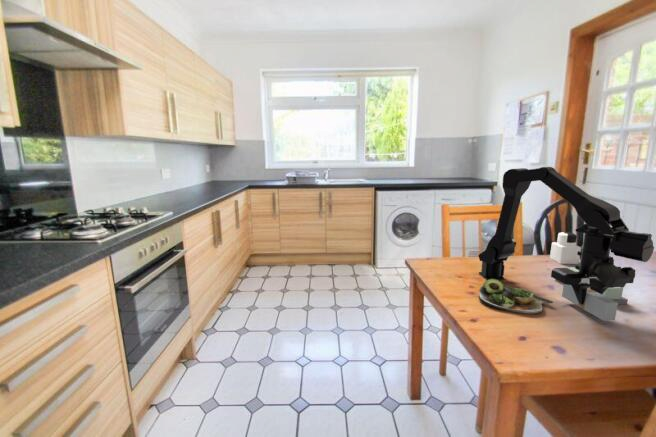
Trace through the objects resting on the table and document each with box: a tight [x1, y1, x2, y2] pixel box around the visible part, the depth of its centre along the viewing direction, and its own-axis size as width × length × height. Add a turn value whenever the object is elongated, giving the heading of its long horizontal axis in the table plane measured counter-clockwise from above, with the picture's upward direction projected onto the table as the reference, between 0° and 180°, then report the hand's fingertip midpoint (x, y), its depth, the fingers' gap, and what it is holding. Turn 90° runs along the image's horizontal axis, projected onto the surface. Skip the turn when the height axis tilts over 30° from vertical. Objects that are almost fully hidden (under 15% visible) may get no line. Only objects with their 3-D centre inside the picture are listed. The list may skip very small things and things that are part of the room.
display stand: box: [554, 266, 628, 305], centre depth 100 cm, size 8×18×5 cm, turn 1°
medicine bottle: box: [549, 231, 581, 265], centre depth 127 cm, size 7×7×12 cm
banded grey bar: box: [561, 284, 619, 322], centre depth 86 cm, size 3×14×5 cm, turn 1°
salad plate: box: [478, 279, 554, 315], centre depth 95 cm, size 19×18×5 cm
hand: (586, 303), depth 87 cm, fingers closed on banded grey bar, 3 cm apart
